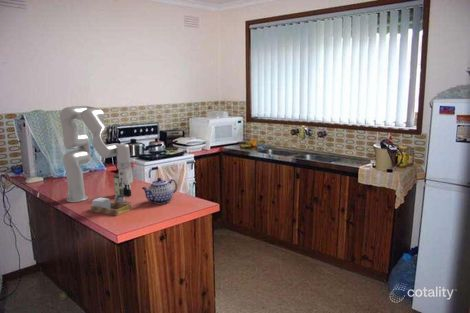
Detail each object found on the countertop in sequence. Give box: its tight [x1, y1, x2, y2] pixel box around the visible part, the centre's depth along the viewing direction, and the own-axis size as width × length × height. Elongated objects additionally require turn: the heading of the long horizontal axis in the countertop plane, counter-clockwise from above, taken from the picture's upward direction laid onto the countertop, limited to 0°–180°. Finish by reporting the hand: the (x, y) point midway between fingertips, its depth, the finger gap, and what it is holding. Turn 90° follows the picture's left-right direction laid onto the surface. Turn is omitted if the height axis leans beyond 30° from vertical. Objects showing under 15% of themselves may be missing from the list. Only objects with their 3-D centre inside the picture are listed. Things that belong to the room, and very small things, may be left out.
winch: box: [114, 196, 132, 204], centre depth 229 cm, size 10×8×4 cm
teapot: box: [141, 177, 178, 205], centre depth 230 cm, size 25×15×15 cm, turn 132°
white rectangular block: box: [91, 197, 112, 209], centre depth 219 cm, size 8×6×6 cm
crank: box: [117, 188, 132, 198], centre depth 227 cm, size 10×3×5 cm, turn 72°
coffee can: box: [112, 173, 132, 197], centre depth 246 cm, size 10×10×14 cm
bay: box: [89, 201, 132, 217], centre depth 217 cm, size 20×11×3 cm, turn 64°
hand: (127, 195), depth 222 cm, fingers closed
